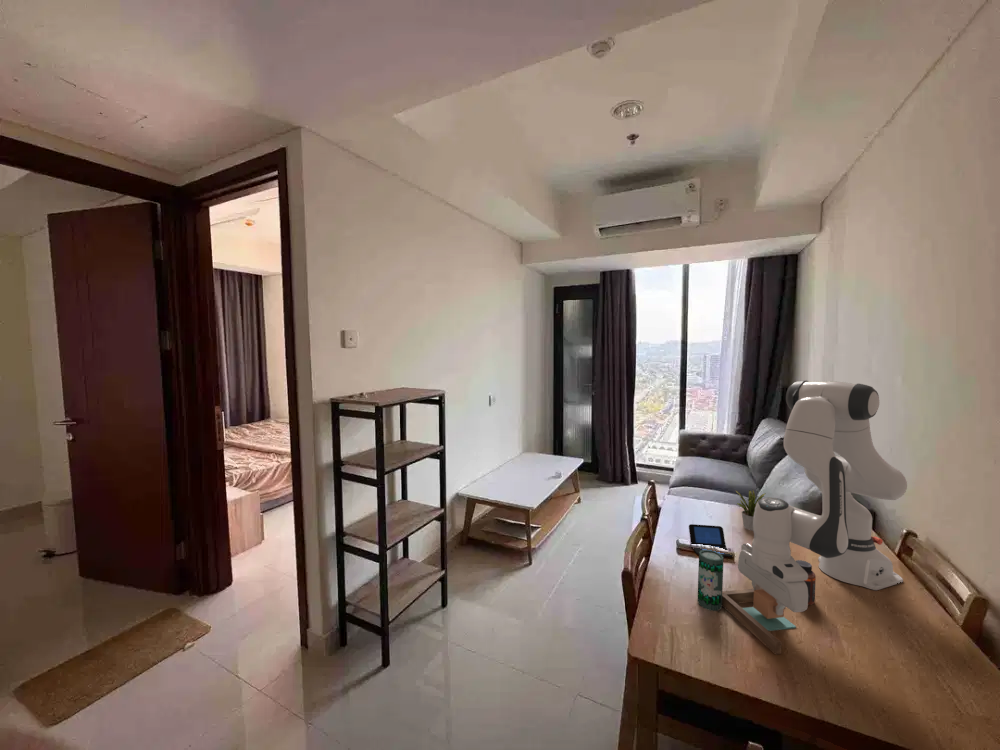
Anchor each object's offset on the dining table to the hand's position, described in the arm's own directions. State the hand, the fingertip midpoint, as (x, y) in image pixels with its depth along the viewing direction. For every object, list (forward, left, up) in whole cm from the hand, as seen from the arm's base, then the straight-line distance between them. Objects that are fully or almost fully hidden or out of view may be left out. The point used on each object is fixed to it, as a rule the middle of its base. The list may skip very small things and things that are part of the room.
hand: (768, 606), depth 110 cm
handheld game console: (-9, -37, -4) cm, 39 cm away
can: (+12, -8, -4) cm, 15 cm away
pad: (0, 0, -4) cm, 4 cm away
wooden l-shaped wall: (-2, +2, -4) cm, 4 cm away
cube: (0, 0, -2) cm, 2 cm away
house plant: (-39, -50, -4) cm, 63 cm away
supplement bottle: (-17, -6, -4) cm, 18 cm away
